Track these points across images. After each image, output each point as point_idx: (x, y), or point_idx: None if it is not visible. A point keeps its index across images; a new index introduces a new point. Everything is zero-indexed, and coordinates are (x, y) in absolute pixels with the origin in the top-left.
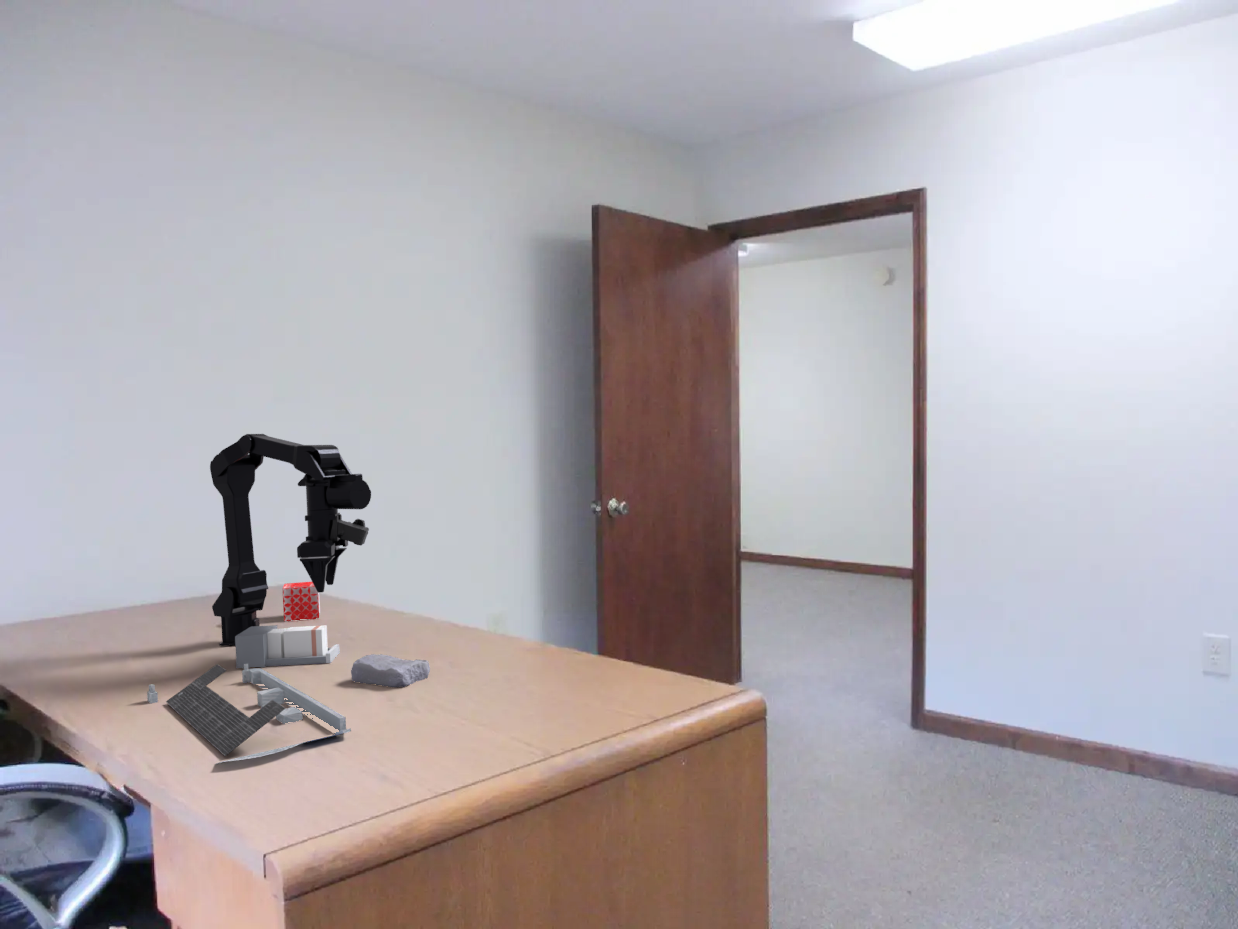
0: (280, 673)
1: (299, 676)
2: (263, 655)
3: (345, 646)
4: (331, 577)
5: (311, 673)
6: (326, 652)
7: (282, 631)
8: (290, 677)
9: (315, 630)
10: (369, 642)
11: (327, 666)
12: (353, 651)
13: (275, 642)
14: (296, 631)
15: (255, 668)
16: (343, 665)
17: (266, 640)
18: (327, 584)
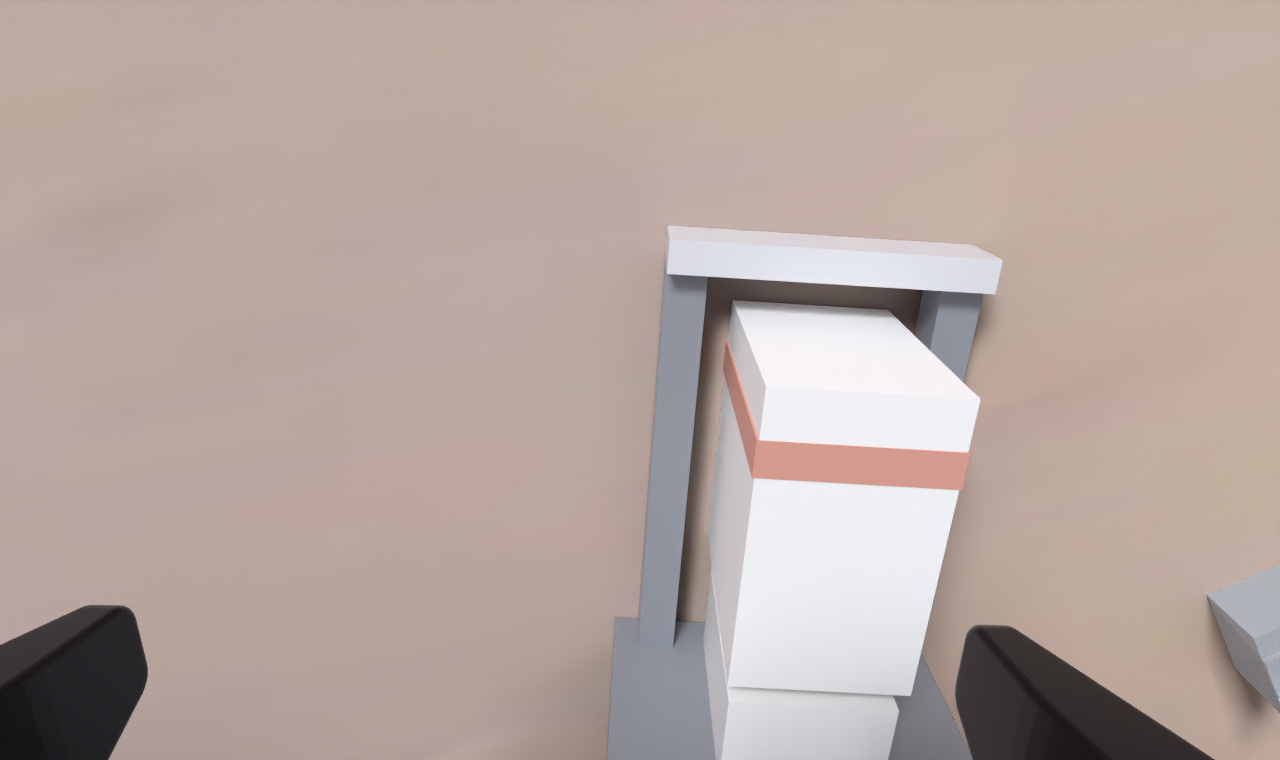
0: (1119, 517)
1: (1271, 389)
2: (937, 688)
3: (412, 218)
4: (38, 720)
5: (1228, 326)
6: (778, 313)
7: (839, 705)
8: (1266, 439)
9: (967, 450)
10: (288, 22)
11: (1067, 249)
12: (617, 121)
13: None
14: (932, 601)
15: (1275, 661)
16: (1093, 129)
17: (891, 751)
18: (143, 684)
